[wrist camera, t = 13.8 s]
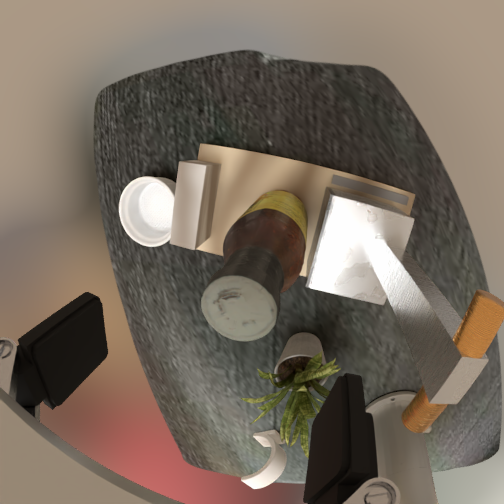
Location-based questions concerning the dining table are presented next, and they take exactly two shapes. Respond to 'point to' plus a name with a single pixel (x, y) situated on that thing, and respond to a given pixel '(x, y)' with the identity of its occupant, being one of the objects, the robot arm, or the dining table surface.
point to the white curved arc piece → (273, 464)
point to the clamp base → (256, 193)
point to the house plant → (298, 384)
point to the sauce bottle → (257, 267)
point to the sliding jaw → (402, 297)
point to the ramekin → (148, 210)
